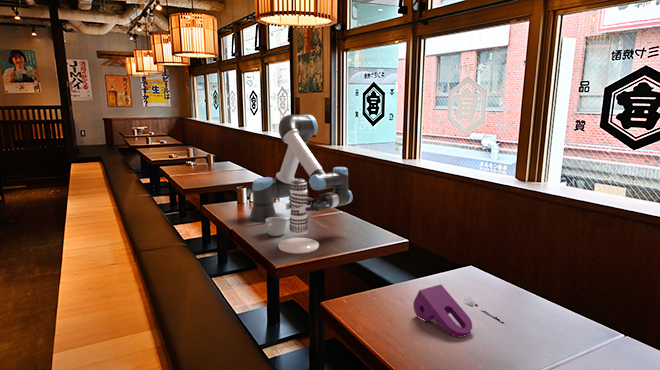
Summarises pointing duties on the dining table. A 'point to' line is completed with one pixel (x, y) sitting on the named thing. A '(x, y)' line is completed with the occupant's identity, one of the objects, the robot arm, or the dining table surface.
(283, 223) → the teacup
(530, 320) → the dining table surface
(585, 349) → the dining table surface
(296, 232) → the decorative candle
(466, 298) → the fork
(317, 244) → the candle plate
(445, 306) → the mounting bracket
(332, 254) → the dining table surface
